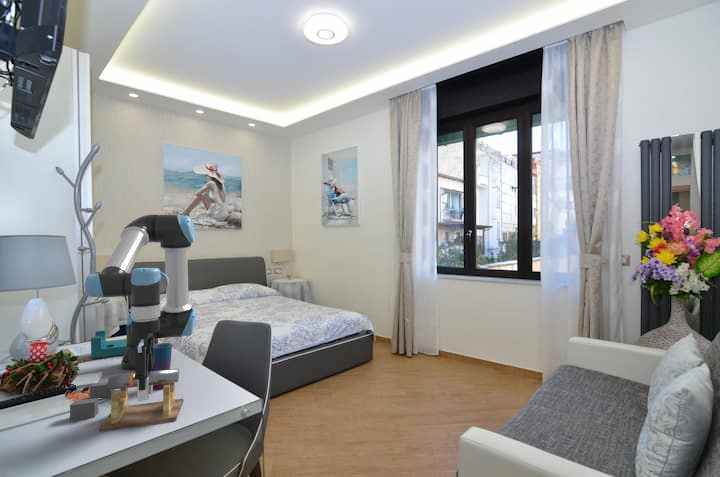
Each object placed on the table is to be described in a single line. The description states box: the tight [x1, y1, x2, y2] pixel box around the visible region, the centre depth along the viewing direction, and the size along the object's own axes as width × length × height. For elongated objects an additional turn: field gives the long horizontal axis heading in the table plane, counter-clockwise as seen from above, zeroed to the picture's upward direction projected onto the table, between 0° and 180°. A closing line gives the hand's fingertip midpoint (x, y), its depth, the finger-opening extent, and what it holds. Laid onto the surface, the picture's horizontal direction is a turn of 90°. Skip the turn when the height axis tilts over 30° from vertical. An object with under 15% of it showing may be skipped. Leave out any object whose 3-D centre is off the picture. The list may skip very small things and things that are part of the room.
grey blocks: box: [69, 381, 115, 422], centre depth 111 cm, size 17×6×4 cm, turn 19°
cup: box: [152, 342, 173, 391], centre depth 126 cm, size 7×7×15 cm
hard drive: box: [70, 371, 104, 389], centre depth 131 cm, size 2×8×12 cm
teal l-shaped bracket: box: [90, 329, 127, 359], centre depth 164 cm, size 18×11×10 cm, turn 117°
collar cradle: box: [98, 382, 184, 433], centre depth 105 cm, size 13×19×10 cm
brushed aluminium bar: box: [107, 367, 180, 391], centre depth 105 cm, size 18×4×4 cm, turn 109°
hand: (145, 396), depth 105 cm, fingers closed on brushed aluminium bar, 4 cm apart
